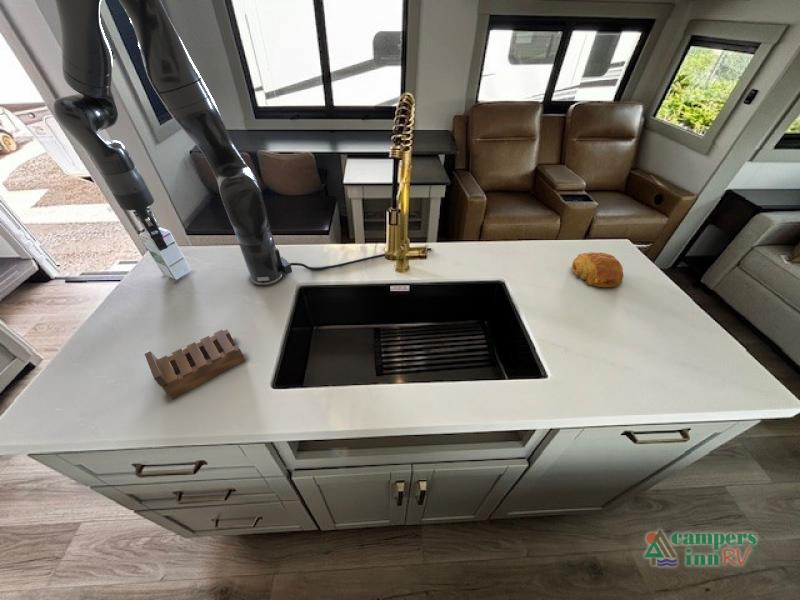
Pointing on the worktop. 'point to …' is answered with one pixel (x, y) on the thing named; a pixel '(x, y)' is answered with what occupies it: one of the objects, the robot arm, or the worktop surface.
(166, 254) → the syrup box
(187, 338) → the worktop surface
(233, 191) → the robot arm
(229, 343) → the rack
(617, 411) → the worktop surface
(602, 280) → the croissant
